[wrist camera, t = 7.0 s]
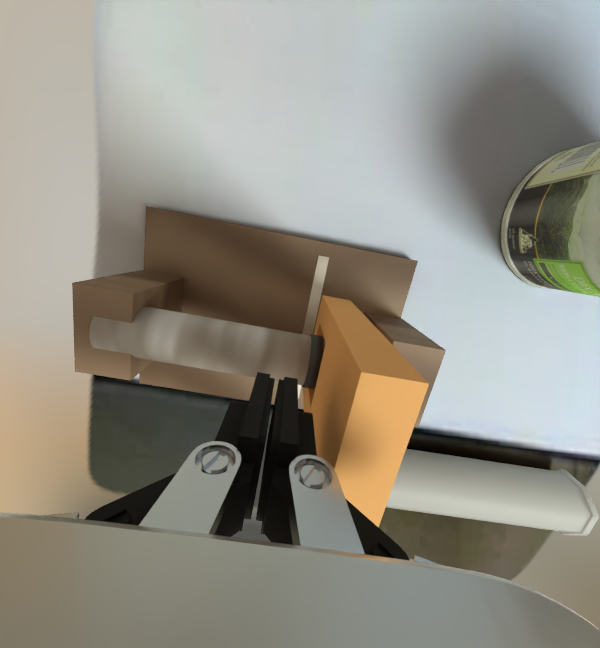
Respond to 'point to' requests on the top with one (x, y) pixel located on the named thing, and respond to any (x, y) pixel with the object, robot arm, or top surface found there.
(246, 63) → the top surface
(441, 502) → the tube
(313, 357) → the pipe stand
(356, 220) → the top surface
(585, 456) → the top surface
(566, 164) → the coffee can
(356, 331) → the orange flat block
